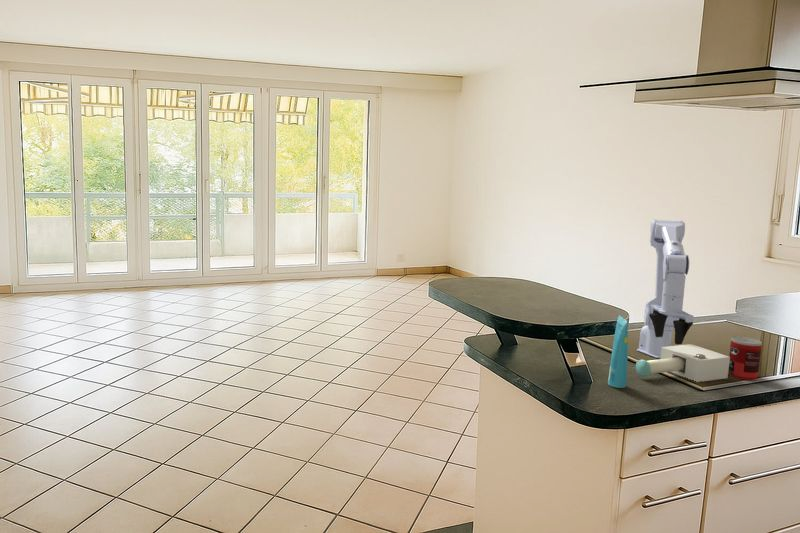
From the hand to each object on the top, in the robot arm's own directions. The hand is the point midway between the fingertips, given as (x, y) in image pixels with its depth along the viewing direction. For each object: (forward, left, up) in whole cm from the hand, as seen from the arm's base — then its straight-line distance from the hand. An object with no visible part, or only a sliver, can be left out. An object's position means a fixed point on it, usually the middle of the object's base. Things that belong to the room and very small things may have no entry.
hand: (668, 340), depth 183 cm
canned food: (+10, +20, -10) cm, 24 cm away
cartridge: (+3, -4, -9) cm, 10 cm away
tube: (+5, -22, -10) cm, 25 cm away
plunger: (+8, +5, -7) cm, 11 cm away
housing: (+3, +8, -10) cm, 13 cm away
